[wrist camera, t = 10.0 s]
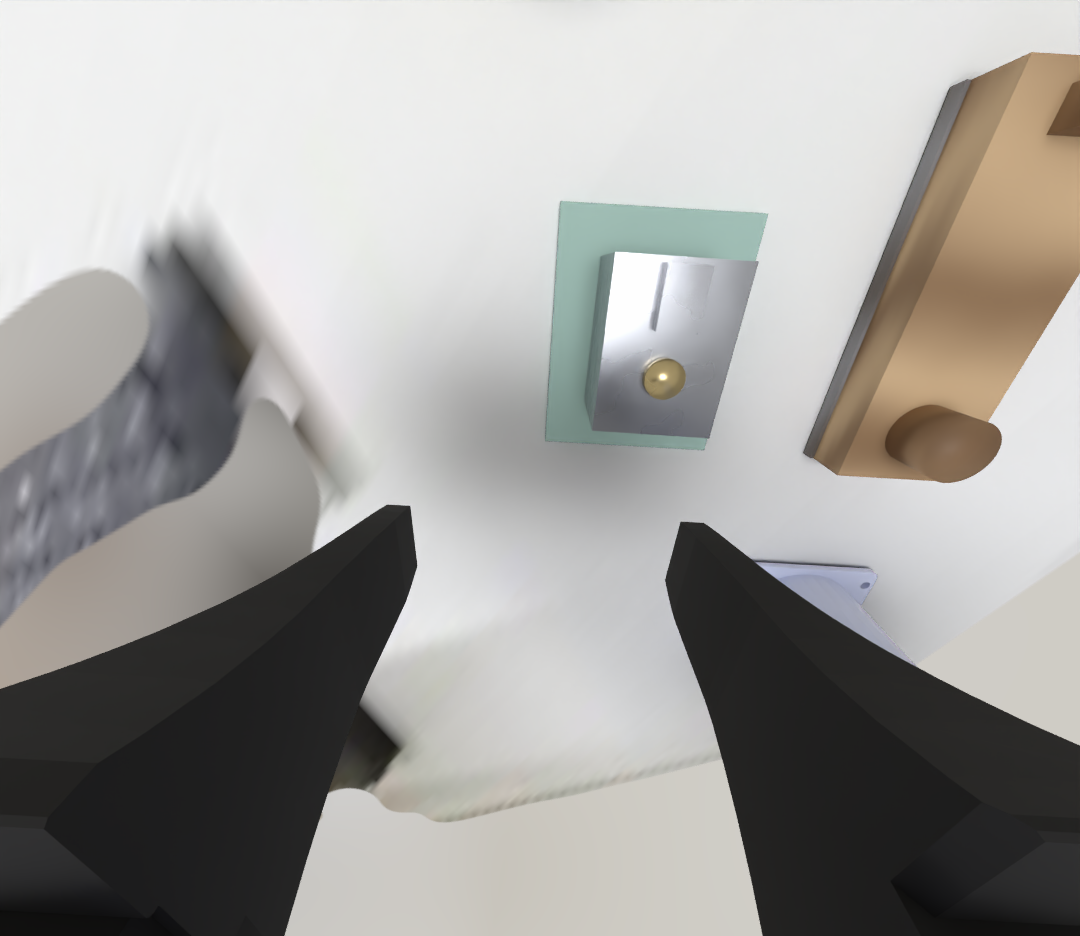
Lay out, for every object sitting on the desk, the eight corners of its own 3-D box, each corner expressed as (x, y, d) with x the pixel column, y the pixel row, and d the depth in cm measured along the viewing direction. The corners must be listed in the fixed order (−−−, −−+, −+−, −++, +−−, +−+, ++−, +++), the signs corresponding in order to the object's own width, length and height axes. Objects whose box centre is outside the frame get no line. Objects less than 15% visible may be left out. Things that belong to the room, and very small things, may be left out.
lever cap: (678, 406, 18) (714, 444, 14) (583, 399, 18) (593, 436, 14) (711, 263, 16) (768, 261, 12) (600, 256, 16) (618, 250, 12)
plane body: (910, 459, 20) (999, 505, 16) (803, 452, 20) (866, 497, 16) (1108, 96, 13) (1338, 24, 9) (950, 87, 13) (1116, 10, 9)
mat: (701, 447, 20) (704, 450, 19) (545, 437, 20) (545, 440, 19) (763, 215, 15) (768, 213, 15) (560, 202, 15) (560, 201, 15)
